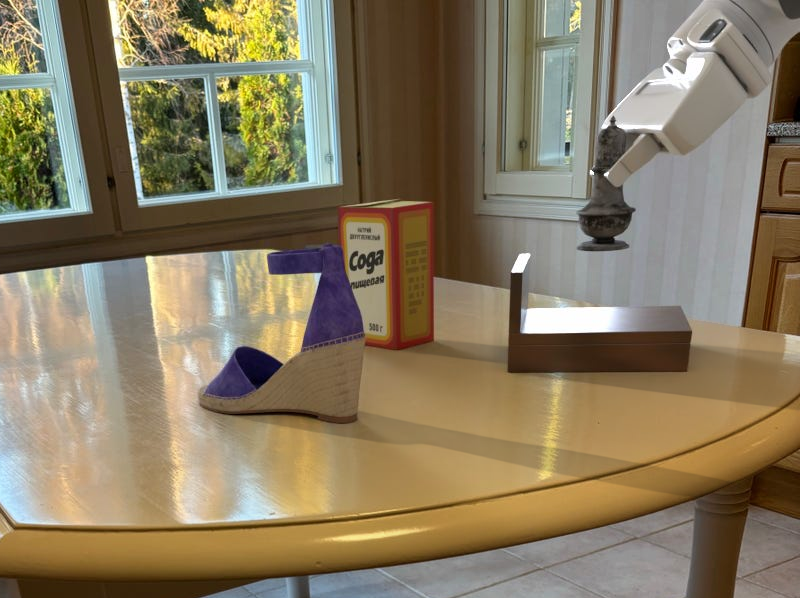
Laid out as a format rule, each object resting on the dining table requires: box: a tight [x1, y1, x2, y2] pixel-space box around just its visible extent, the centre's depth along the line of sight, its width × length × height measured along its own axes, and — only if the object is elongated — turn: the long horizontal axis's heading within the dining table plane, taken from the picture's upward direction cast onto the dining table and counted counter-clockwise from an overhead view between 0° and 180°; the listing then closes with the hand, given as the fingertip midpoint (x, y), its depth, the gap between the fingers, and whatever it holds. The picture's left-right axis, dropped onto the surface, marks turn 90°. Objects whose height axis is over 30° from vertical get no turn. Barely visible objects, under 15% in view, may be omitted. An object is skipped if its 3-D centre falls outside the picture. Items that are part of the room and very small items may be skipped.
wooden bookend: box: [507, 253, 693, 373], centre depth 100 cm, size 18×14×10 cm
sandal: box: [197, 242, 366, 424], centre depth 87 cm, size 8×20×15 cm, turn 45°
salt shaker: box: [575, 116, 637, 252], centre depth 93 cm, size 6×6×12 cm
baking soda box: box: [336, 198, 435, 351], centre depth 113 cm, size 10×6×16 cm
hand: (602, 180), depth 93 cm, fingers closed on salt shaker, 3 cm apart
